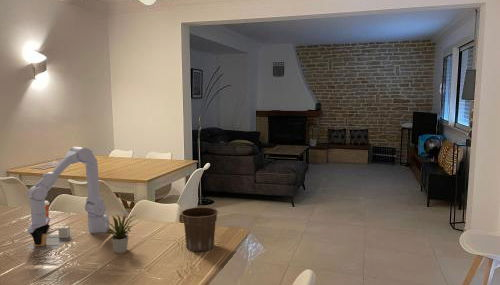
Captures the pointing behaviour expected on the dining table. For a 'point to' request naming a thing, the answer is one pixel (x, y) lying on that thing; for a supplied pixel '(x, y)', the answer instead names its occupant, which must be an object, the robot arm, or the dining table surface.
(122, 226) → the house plant
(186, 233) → the plant pot
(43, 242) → the orange fader
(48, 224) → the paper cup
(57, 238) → the console
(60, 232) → the grey fader
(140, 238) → the dining table surface
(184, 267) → the dining table surface
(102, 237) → the dining table surface
